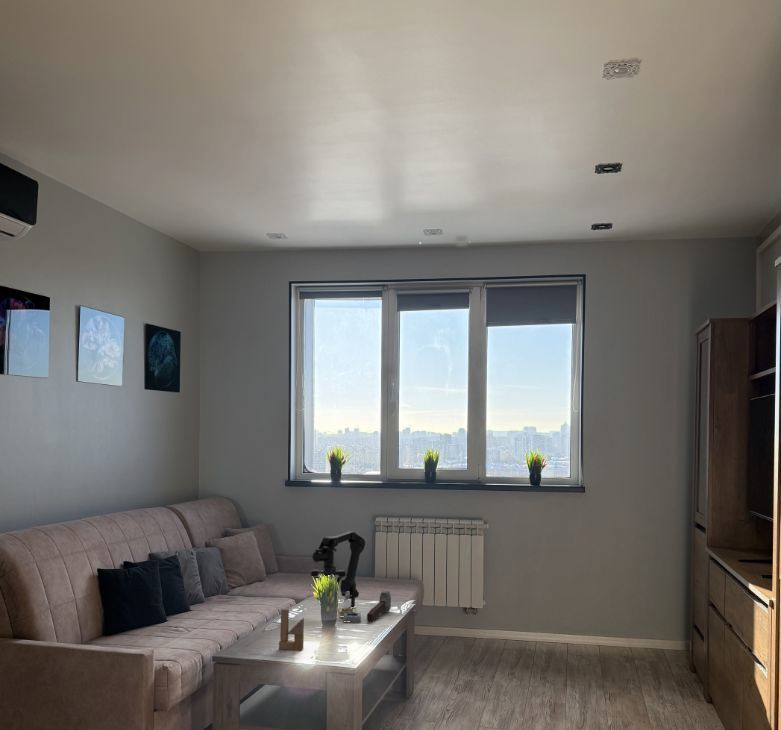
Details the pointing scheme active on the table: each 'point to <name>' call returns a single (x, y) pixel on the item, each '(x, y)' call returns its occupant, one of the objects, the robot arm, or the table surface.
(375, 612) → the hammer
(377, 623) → the table surface
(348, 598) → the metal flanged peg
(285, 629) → the wooden block
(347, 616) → the socket
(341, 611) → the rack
